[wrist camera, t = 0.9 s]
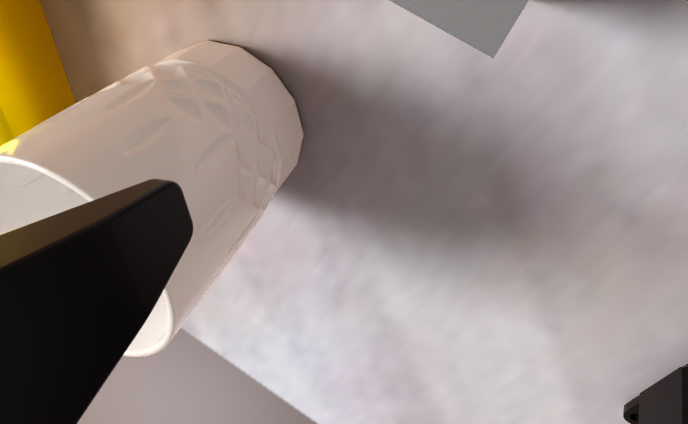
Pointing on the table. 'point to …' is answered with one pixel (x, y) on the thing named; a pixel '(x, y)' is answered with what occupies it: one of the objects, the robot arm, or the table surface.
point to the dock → (470, 19)
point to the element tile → (28, 70)
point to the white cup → (166, 160)
